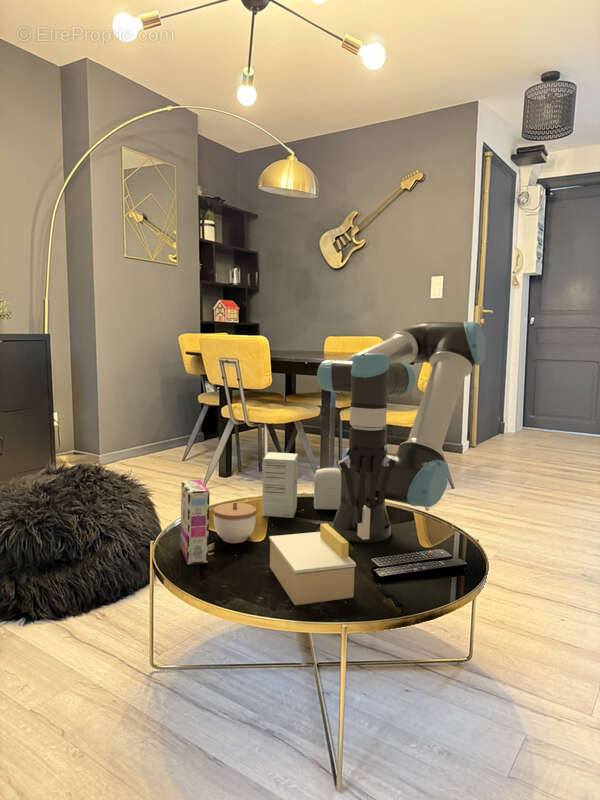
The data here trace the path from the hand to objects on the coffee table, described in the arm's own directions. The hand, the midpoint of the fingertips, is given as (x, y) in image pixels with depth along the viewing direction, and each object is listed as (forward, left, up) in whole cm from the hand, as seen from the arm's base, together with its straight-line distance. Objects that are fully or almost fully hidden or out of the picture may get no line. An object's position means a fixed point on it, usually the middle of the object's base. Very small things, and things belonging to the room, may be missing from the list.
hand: (363, 536), depth 113 cm
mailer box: (+12, 0, -8) cm, 15 cm away
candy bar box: (+33, -20, -9) cm, 40 cm away
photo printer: (-11, -46, -9) cm, 48 cm away
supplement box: (+5, -46, -9) cm, 47 cm away
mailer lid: (+12, 0, -2) cm, 12 cm away
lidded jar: (+22, -28, -9) cm, 37 cm away
